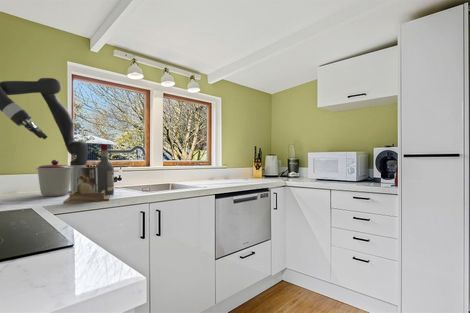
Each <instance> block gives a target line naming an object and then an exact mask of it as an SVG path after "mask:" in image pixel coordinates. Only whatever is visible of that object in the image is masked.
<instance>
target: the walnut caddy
mask: <svg viewBox="0 0 470 313" xmlns="http://www.w3.org/2000/svg"><path fill="white" fill-rule="evenodd" d="M68 196H69V197H67V198H66V199H65V200H63V204H74V203H75V204H77V203H92V202H95V203H96V202H108V201H110V197H111V195H105V190H99V191H98V193H84V194H77V192H70V193H69V195H68Z"/></svg>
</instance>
